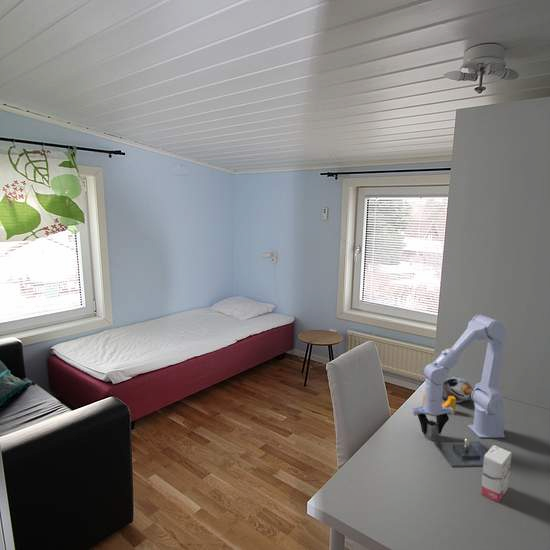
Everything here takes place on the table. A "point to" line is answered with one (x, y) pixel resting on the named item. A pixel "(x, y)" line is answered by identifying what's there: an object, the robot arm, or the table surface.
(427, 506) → the table surface
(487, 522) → the table surface
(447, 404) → the yellow curved piece
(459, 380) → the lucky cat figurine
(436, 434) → the tube
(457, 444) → the grey square base plate
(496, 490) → the ink box
